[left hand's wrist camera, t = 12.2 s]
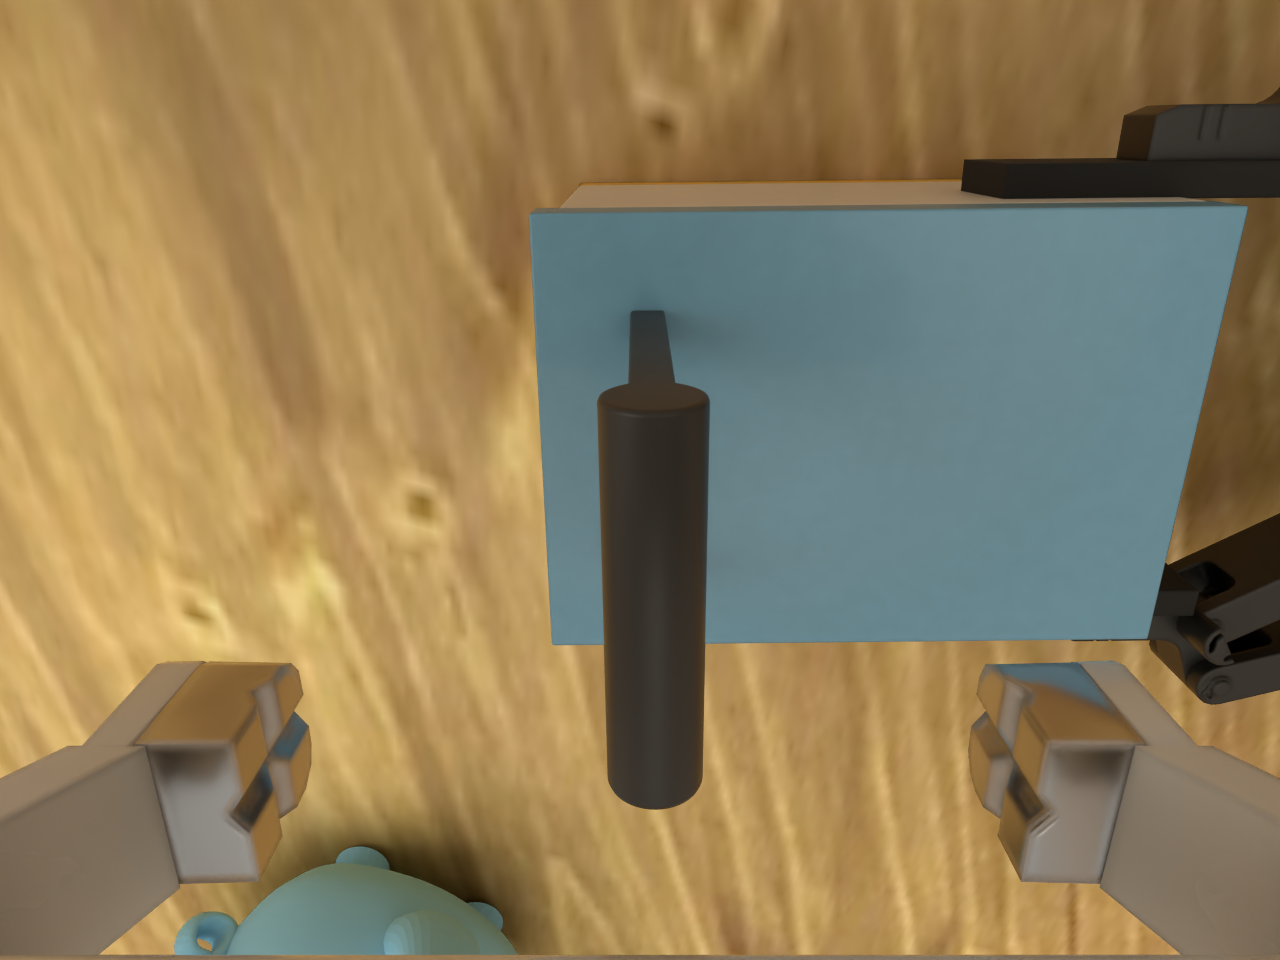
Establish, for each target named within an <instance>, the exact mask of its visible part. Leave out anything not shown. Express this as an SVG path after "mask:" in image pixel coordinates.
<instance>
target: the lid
mask: <svg viewBox="0 0 1280 960" xmlns="http://www.w3.org/2000/svg"><path fill="white" fill-rule="evenodd" d="M1247 211H1248V207H1247V206H1245V205H1238V204H1230V203H1222V202H1214V201H1181V202H1085V203H989V204H894V205H798V206H702V207H606V208H537V209H535V210H534V211H533V212H531V213H530V214H529V228H530V247H531V265H532V284H533V302H534V321H535V339H536V358H537V376H538V395H539V413H540V432H541V450H542V469H543V488H544V506H545V525H546V543H547V562H548V580H549V599H550V617H551V636H552V644H553V645H604V665H605V699H606V734H607V769H608V781H609V784H610V786H611V788H612V790H613V791H614V793H615V794H616V795H617V796H618V797H619V798H620V799H622V800H623V801H625V802H626V803H628V804H630V805H633V806H636V807H639V808H644V809H655V810H657V809H667V808H671V807H675V806H678V805H680V804H682V803H684V802H686V801H687V800H689V799H690V798H691V797H692V796H693V795H694V794H695V793H696V792H697V790H698V788H699V787H700V785H701V782H702V775H703V726H704V678H705V644H711V643H805V642H900V641H994V640H1089V639H1147V638H1148V634H1149V629H1150V625H1151V621H1152V617H1153V612H1154V608H1155V604H1156V600H1157V595H1158V591H1159V587H1160V582H1161V578H1162V574H1163V570H1164V565H1165V561H1166V557H1167V553H1168V548H1169V544H1170V540H1171V536H1172V531H1173V527H1174V523H1175V519H1176V514H1177V510H1178V506H1179V501H1180V497H1181V493H1182V489H1183V484H1184V480H1185V476H1186V472H1187V467H1188V463H1189V459H1190V455H1191V450H1192V446H1193V442H1194V437H1195V433H1196V429H1197V425H1198V420H1199V416H1200V412H1201V408H1202V403H1203V399H1204V395H1205V391H1206V386H1207V382H1208V378H1209V373H1210V369H1211V365H1212V361H1213V356H1214V352H1215V348H1216V344H1217V339H1218V335H1219V331H1220V327H1221V322H1222V318H1223V314H1224V309H1225V305H1226V301H1227V297H1228V292H1229V288H1230V284H1231V280H1232V275H1233V271H1234V267H1235V263H1236V258H1237V254H1238V250H1239V246H1240V241H1241V237H1242V233H1243V228H1244V224H1245V220H1246V216H1247Z"/></svg>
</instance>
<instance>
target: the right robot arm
mask: <svg viewBox="0 0 1280 960" xmlns="http://www.w3.org/2000/svg"><path fill="white" fill-rule="evenodd" d="M961 191H964V192H969V193H974V194H979V195H984V196H990V197H995V198H1000V199H1059V198H1153V197H1182V198H1271V197H1280V88H1279V89H1278V90H1277V91H1276V92H1275V93H1274V94H1273V95H1272V96H1270V97H1269V98H1267V99H1266V100H1264V101H1262V102H1259V103H1256V104H1190V105H1160V106H1146V107H1144V108H1141V109H1139V110H1136V111H1134V112H1132V113H1129V114H1127V115H1124V119H1123V124H1122V130H1121V135H1120V141H1119V147H1118V152H1117V158H1079V159H975V160H964V167H963V176H962V184H961ZM1094 640H1096V641H1108V640H1112V641H1127V640H1150V643H1149V645H1150V648H1151V650H1152V651H1153V652H1154V654H1155V655H1156V656H1157V657H1158V658H1159V659H1160V660H1161V661H1162V662H1163V663H1164V664H1165V665H1166V666H1167V667H1168V668H1169V669H1170V670H1171V671H1172V672H1173V673H1174V674H1175V675H1176V676H1177V677H1178V678H1179V679H1180V680H1181V681H1182V682H1183V683H1184V684H1185V685H1186V686H1187V687H1188V688H1189V689H1190V690H1191V691H1192V692H1193V693H1194V694H1195V695H1196V696H1197V697H1198V698H1199V699H1200V700H1201V701H1203V702H1204V703H1207V704H1211V705H1213V704H1222V703H1226V702H1230V701H1235V700H1239V699H1243V698H1247V697H1252V696H1256V695H1260V694H1265V693H1269V692H1273V691H1278V690H1280V513H1279V514H1277V515H1275V516H1273V517H1271V518H1269V519H1267V520H1264V521H1262V522H1260V523H1258V524H1256V525H1254V526H1251V527H1249V528H1247V529H1245V530H1243V531H1241V532H1238V533H1236V534H1234V535H1232V536H1230V537H1228V538H1225V539H1223V540H1221V541H1219V542H1217V543H1215V544H1212V545H1210V546H1208V547H1206V548H1204V549H1202V550H1199V551H1197V552H1195V553H1193V554H1191V555H1189V556H1186V557H1184V558H1182V559H1180V560H1178V561H1176V562H1174V563H1171V564H1169V565H1168V564H1166V563H1165V565H1164V570H1163V574H1162V578H1161V582H1160V587H1159V591H1158V595H1157V600H1156V604H1155V608H1154V612H1153V617H1152V621H1151V625H1150V629H1149V634H1148V638H1147V639H1089V640H1072V641H1094Z"/></svg>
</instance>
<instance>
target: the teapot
mask: <svg viewBox="0 0 1280 960" xmlns="http://www.w3.org/2000/svg"><path fill="white" fill-rule="evenodd" d="M502 927H503V918H502V916H501V914H500V913H499V911H498V910H496V909H495V908H494V907H492V906H491V905H488V904H486V903H481V902H470V903H466V902H464V901H462V900H461V899H459V898H458V897H456V896H455V895H453V894H451V893H449V892H447V891H445V890H443V889H441V888H439V887H437V886H435V885H432V884H430V883H428V882H425V881H423V880H420V879H417V878H414V877H411V876H408V875H405V874H401V873H397V872H394V871H390V867H389V863H388V861H387V859H386V858H385V857H384V856H383V855H382V854H381V853H379V852H378V851H376V850H374V849H371V848H368V847H360V846H359V847H352V848H348V849H346V850H344V851H343V852H341V853H340V854H339V856H338V857H337V859H336V863H335V864H328V865H323V866H320V867H316V868H313V869H311V870H309V871H307V872H304V873H302V874H301V875H299V876H297V877H295V878H294V879H292V880H290V881H288V882H286V883H285V884H283V885H281V886H280V887H278V888H277V889H275V890H274V891H273V892H272V893H271V894H270V895H268V896H267V897H266V898H265V899H264V900H263V901H261V902H260V903H259V904H258V905H257V907H256V908H255V909H254V910H253V911H252V912H251V913H250V914H249V915H248V916H247V917H246V918H245V920H244V921H243V922H242V923H241V924H240V925H239V926H238V925H237V923H236V921H235V920H234V919H233V918H232V917H230V916H229V915H227V914H224V913H220V912H203V913H200V914H198V915H196V916H194V917H192V918H191V919H190V920H189V921H187V922H186V923H185V924H184V925H183V927H182V928H181V929H180V931H179V932H178V935H177V938H176V941H175V945H174V949H175V955H518V954H517V952H516V950H515V949H514V947H513V946H512V944H511V943H510V942H509V940H508V939H507V938H506V936H505V935H504V934H503V933H502V932H501V929H502ZM197 939H202V940H205V941H207V942H209V943H210V944H211V946H212V951H211V952H210V951H209V950H206V949H204V948H202V947H200V946H199V944H198V942H197Z"/></svg>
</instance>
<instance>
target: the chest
mask: <svg viewBox="0 0 1280 960" xmlns="http://www.w3.org/2000/svg"><path fill="white" fill-rule="evenodd" d="M961 184H962V179H922V180H826V181H731V182H635V183H580V184H579V188H578V189H577V190H576V191H575V192H574V193H573V194H572V195H571V196H570V197H569V198H568V199H567V200H566V201H565V202H564V203H563V204H562V205H561V207H560V208H606V207H702V206H798V205H894V204H989V203H1085V202H1181V201H1205V200H1197V199H1189V198H1182V197H1153V198H1059V199H1000V198H995V197H990V196H984V195H979V194H974V193H969V192H964V191H961Z"/></svg>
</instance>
